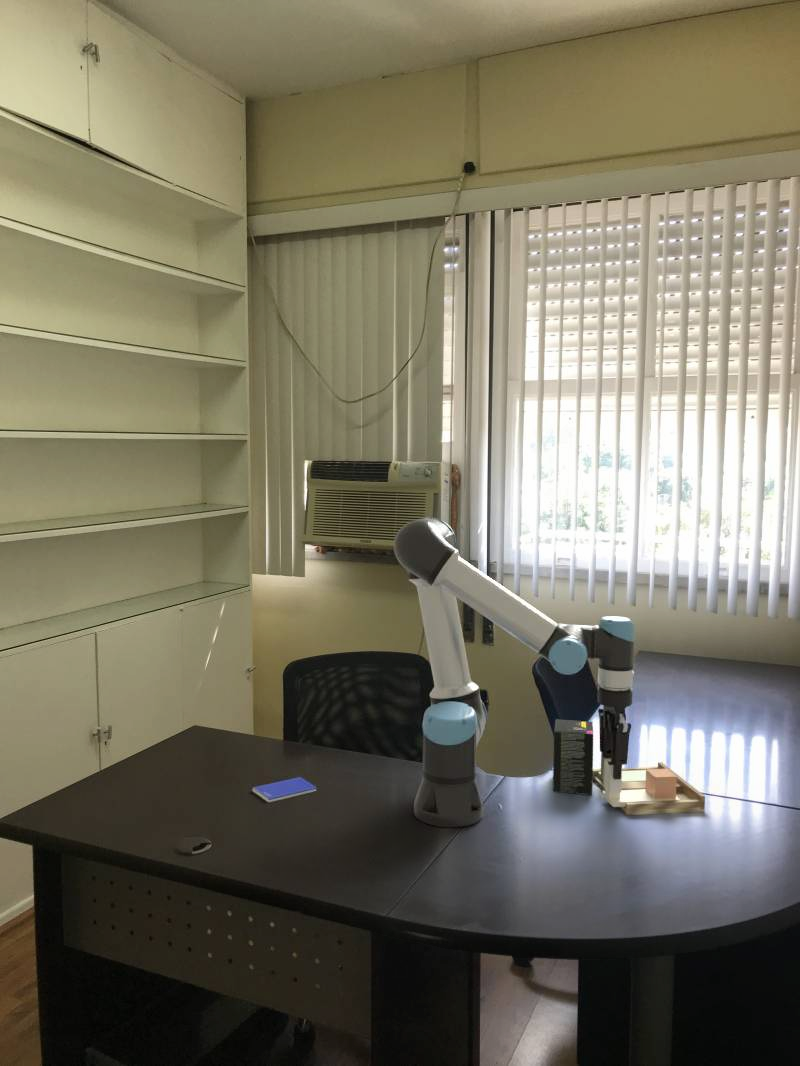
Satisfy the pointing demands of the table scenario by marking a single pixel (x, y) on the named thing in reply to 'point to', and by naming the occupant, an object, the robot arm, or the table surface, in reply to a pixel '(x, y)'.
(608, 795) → the strip cream
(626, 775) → the pale green l-shaped bracket
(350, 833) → the table surface
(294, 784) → the hard drive
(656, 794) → the cube
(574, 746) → the tampon box
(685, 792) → the lane board
